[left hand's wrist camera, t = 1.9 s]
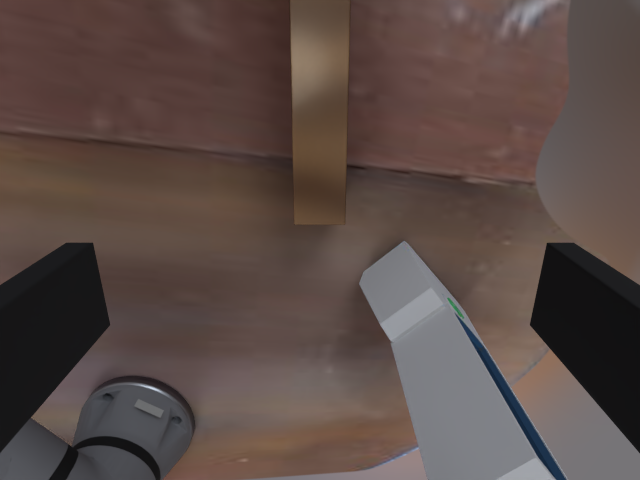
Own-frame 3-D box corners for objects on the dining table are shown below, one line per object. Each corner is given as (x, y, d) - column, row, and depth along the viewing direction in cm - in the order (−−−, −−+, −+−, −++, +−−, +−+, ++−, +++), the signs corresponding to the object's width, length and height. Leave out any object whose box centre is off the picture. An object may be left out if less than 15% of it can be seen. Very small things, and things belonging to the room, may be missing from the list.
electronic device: (463, 304, 53) (625, 558, 25) (415, 337, 55) (516, 610, 27) (403, 235, 49) (514, 438, 21) (354, 272, 51) (397, 505, 23)
